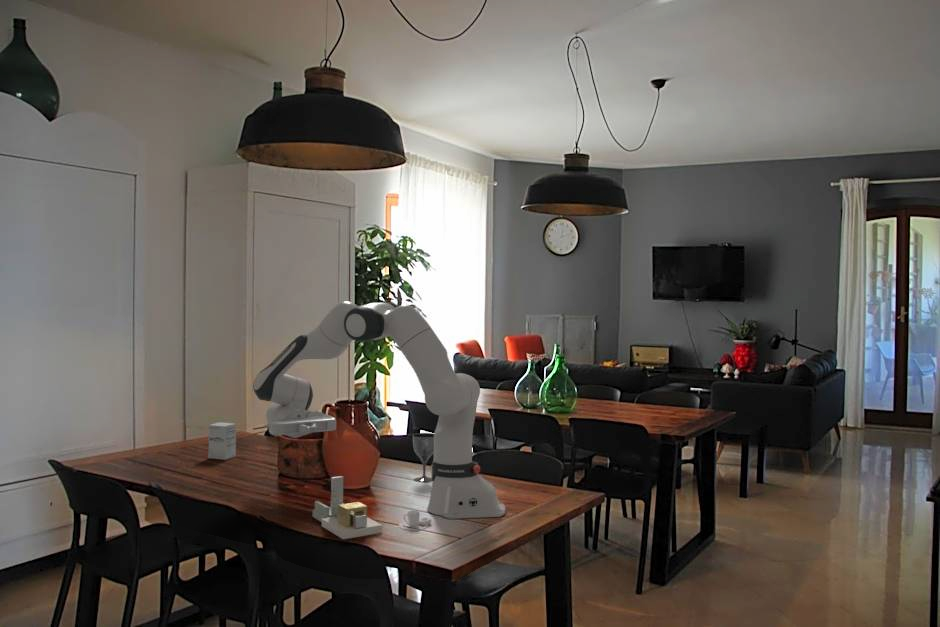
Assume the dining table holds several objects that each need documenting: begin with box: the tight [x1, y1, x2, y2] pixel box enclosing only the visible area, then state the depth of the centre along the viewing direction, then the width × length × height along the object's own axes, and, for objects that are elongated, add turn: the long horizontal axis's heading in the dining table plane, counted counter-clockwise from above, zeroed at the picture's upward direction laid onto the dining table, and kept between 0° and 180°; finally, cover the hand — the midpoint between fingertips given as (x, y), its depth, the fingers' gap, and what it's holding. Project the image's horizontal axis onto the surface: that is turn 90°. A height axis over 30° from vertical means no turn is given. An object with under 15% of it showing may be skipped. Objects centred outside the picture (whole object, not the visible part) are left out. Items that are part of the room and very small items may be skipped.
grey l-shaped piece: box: [330, 475, 366, 528], centre depth 210 cm, size 15×3×10 cm, turn 34°
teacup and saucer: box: [398, 510, 432, 531], centre depth 214 cm, size 9×8×4 cm
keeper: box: [338, 501, 368, 528], centre depth 208 cm, size 5×6×5 cm
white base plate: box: [321, 516, 383, 540], centre depth 210 cm, size 14×11×2 cm
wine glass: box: [412, 432, 434, 483], centre depth 267 cm, size 8×8×15 cm
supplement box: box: [207, 422, 237, 461], centre depth 297 cm, size 7×7×13 cm
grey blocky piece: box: [312, 500, 335, 523], centre depth 220 cm, size 8×7×4 cm
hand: (312, 429), depth 235 cm, fingers closed
